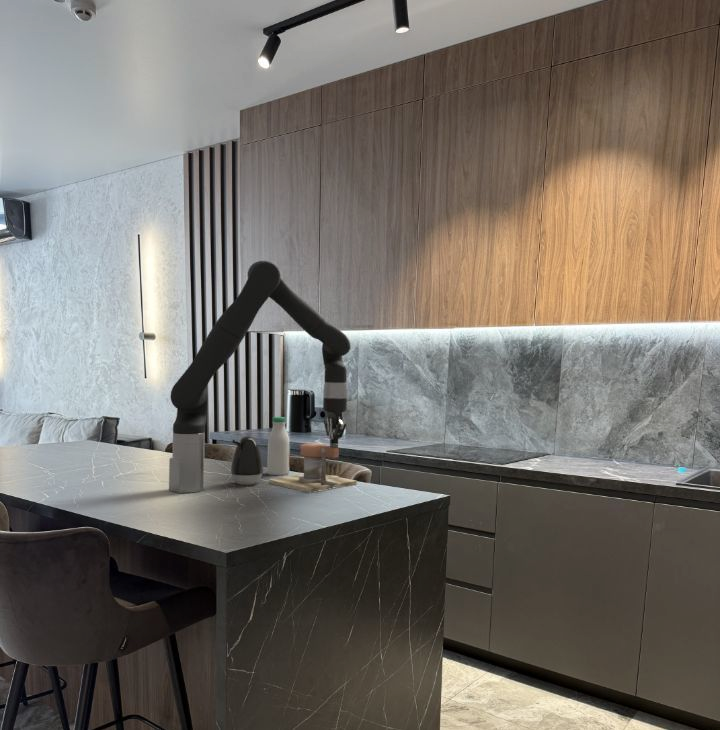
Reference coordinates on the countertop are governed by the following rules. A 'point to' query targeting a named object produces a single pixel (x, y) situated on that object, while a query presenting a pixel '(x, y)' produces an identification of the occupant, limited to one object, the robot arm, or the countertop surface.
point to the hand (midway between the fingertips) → (333, 450)
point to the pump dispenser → (246, 462)
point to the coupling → (319, 450)
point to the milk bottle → (278, 448)
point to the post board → (309, 486)
